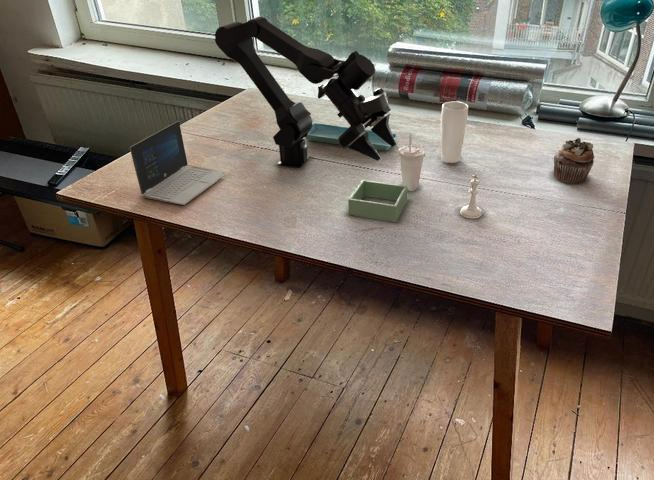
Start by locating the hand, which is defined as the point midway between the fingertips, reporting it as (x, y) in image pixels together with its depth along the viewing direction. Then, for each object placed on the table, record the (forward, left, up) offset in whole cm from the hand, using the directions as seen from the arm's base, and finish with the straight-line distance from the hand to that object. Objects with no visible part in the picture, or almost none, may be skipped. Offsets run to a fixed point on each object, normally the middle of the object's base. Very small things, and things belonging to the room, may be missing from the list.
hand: (387, 152), depth 139 cm
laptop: (-47, -17, -8) cm, 51 cm away
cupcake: (+44, +17, -8) cm, 48 cm away
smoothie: (+6, -1, -8) cm, 10 cm away
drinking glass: (+13, +18, -8) cm, 23 cm away
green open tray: (+2, -13, -8) cm, 15 cm away
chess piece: (+23, -9, -8) cm, 26 cm away
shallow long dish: (-17, +22, -8) cm, 29 cm away
